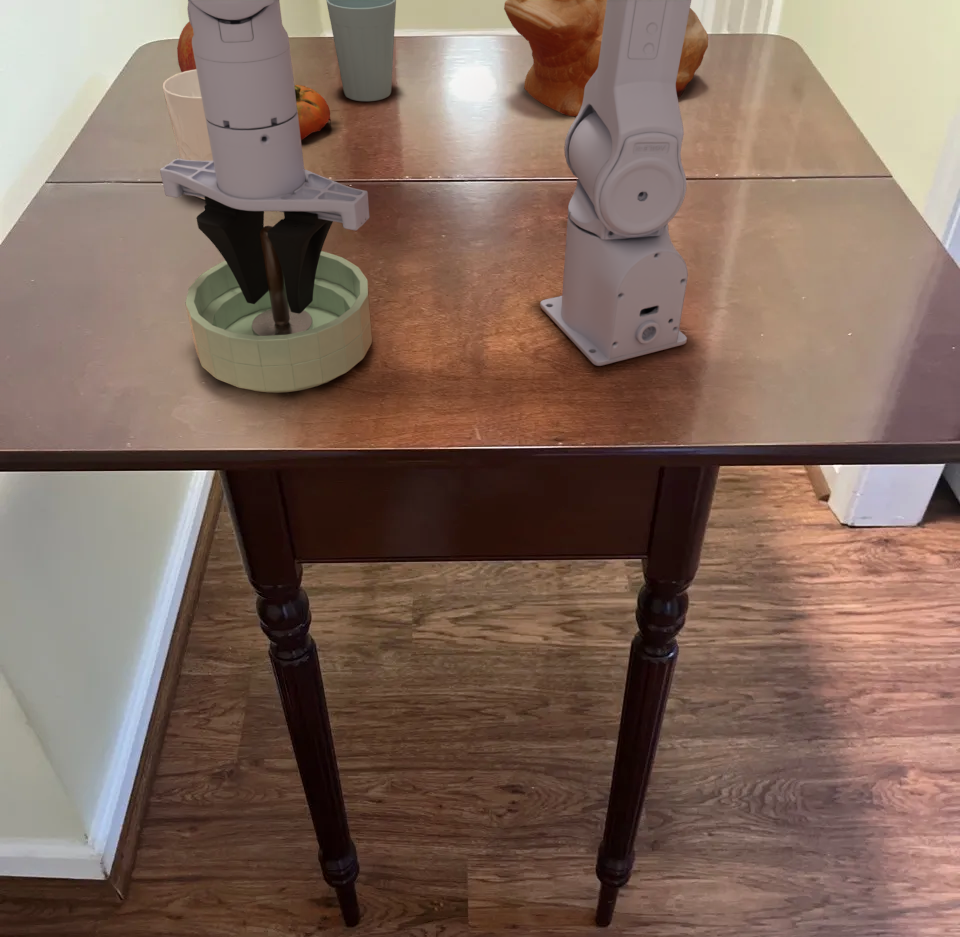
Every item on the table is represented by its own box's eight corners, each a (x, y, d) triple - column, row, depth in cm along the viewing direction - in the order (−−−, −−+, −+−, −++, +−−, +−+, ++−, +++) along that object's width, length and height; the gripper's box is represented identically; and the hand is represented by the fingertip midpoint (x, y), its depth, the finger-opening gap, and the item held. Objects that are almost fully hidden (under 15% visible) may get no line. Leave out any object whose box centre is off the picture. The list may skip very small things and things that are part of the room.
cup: (413, 96, 112) (408, 0, 105) (355, 110, 109) (347, 12, 102) (380, 78, 117) (374, -15, 110) (324, 90, 114) (314, -5, 107)
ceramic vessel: (478, 89, 114) (478, -51, 104) (659, 57, 123) (675, -74, 113) (536, 129, 105) (542, -20, 95) (727, 91, 114) (751, -48, 104)
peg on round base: (324, 331, 72) (311, 218, 66) (297, 362, 69) (280, 246, 63) (273, 320, 73) (255, 208, 67) (243, 350, 70) (222, 235, 64)
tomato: (249, 134, 99) (255, 65, 99) (254, 157, 106) (260, 92, 106) (327, 145, 100) (333, 76, 100) (327, 167, 107) (333, 102, 107)
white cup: (185, 209, 89) (163, 100, 83) (182, 174, 95) (161, 71, 89) (270, 199, 91) (255, 93, 85) (262, 166, 97) (247, 64, 90)
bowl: (396, 375, 69) (393, 315, 66) (219, 418, 65) (206, 357, 62) (342, 292, 78) (337, 235, 75) (184, 325, 74) (171, 267, 71)
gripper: (383, 106, 61) (394, 293, 70) (188, 78, 65) (222, 258, 74) (333, 147, 56) (351, 342, 65) (124, 114, 60) (169, 303, 69)
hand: (279, 301), depth 69 cm, fingers open, 3 cm apart
